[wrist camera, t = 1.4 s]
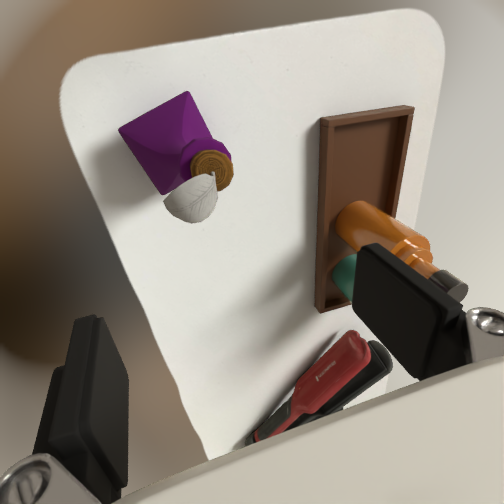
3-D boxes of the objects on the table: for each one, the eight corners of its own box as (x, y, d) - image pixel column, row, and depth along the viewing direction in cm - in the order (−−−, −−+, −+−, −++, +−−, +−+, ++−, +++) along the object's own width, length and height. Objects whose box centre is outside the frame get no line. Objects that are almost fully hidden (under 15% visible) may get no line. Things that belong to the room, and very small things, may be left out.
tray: (320, 117, 38) (328, 120, 37) (403, 104, 41) (415, 106, 39) (314, 306, 54) (319, 313, 52) (374, 288, 57) (381, 295, 55)
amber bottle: (336, 205, 45) (436, 277, 30) (376, 196, 46) (491, 261, 31) (333, 244, 48) (422, 327, 33) (371, 235, 49) (472, 311, 35)
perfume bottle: (183, 87, 32) (226, 111, 18) (217, 153, 37) (274, 218, 22) (118, 123, 32) (106, 178, 18) (159, 186, 37) (178, 272, 22)
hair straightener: (225, 457, 69) (235, 500, 62) (344, 318, 58) (372, 352, 51) (278, 460, 77) (292, 499, 70) (392, 338, 66) (422, 370, 59)
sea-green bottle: (332, 259, 49) (417, 344, 35) (369, 249, 51) (465, 328, 36) (330, 291, 53) (406, 382, 38) (364, 282, 54) (451, 366, 40)
